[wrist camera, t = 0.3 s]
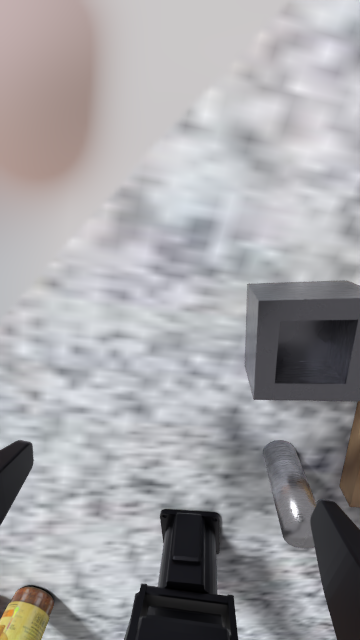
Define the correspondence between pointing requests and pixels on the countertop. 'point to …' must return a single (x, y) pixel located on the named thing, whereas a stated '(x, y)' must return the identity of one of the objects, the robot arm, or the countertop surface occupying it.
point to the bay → (352, 465)
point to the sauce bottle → (26, 615)
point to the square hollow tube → (303, 341)
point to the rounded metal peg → (290, 493)
